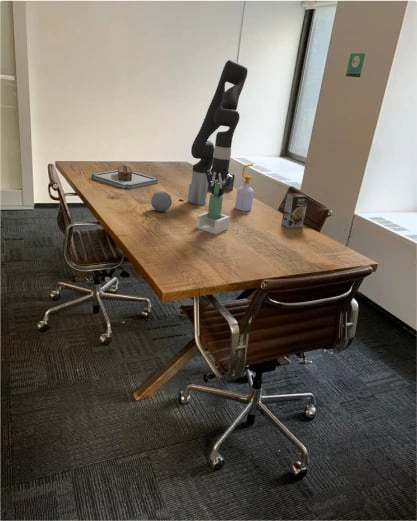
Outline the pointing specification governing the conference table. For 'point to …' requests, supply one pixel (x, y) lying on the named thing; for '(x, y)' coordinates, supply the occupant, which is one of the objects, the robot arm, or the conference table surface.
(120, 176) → the grey square tray
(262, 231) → the conference table surface
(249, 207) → the soap bottle
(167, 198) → the decorative stone
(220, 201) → the green bottle
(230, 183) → the vhs cassette tape
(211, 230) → the u rest
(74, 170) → the conference table surface
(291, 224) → the coffee box
